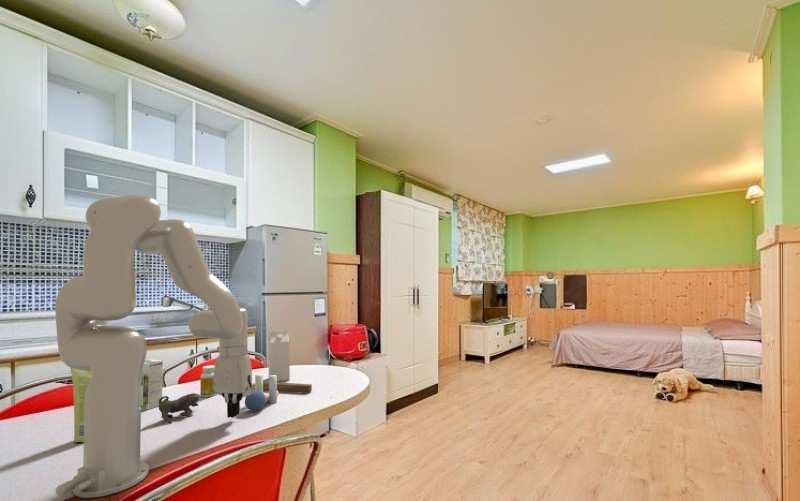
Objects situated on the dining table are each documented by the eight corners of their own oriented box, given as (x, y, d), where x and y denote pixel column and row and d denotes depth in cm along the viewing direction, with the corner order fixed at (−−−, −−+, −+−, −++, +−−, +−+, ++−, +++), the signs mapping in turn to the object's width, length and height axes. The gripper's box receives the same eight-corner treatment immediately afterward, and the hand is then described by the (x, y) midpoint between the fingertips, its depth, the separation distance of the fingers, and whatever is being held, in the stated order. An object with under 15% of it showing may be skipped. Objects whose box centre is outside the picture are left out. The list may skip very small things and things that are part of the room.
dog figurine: (163, 426, 109) (163, 399, 109) (154, 421, 112) (154, 395, 113) (206, 412, 119) (206, 388, 119) (197, 408, 122) (196, 384, 122)
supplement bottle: (210, 397, 132) (210, 368, 133) (196, 397, 133) (196, 368, 134) (220, 392, 138) (221, 365, 138) (207, 392, 139) (207, 364, 139)
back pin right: (274, 403, 125) (274, 377, 126) (267, 403, 126) (267, 376, 126) (278, 401, 128) (278, 375, 128) (271, 400, 128) (271, 374, 129)
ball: (272, 395, 123) (263, 414, 120) (256, 390, 125) (247, 409, 122) (262, 390, 118) (253, 411, 115) (246, 385, 120) (237, 405, 117)
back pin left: (260, 402, 126) (260, 376, 127) (253, 402, 127) (253, 376, 127) (264, 400, 129) (264, 374, 129) (258, 399, 129) (258, 374, 130)
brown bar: (309, 393, 135) (309, 386, 135) (258, 390, 140) (258, 383, 140) (311, 391, 137) (311, 384, 137) (261, 388, 142) (261, 381, 142)
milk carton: (268, 378, 155) (268, 330, 156) (286, 375, 158) (286, 328, 159) (270, 382, 149) (270, 332, 150) (289, 380, 152) (289, 331, 153)
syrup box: (133, 408, 123) (133, 362, 124) (151, 402, 128) (152, 358, 129) (144, 411, 121) (145, 363, 121) (163, 405, 126) (163, 359, 127)
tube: (84, 434, 104) (86, 360, 105) (105, 433, 104) (106, 360, 105) (68, 444, 98) (70, 366, 99) (90, 443, 99) (91, 365, 100)
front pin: (264, 398, 124) (278, 390, 132) (258, 397, 125) (272, 389, 133) (263, 405, 124) (278, 397, 132) (257, 404, 125) (271, 396, 133)
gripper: (202, 353, 110) (201, 418, 110) (248, 355, 107) (248, 423, 106) (220, 347, 118) (219, 409, 117) (264, 349, 114) (264, 413, 113)
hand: (233, 415), depth 112 cm, fingers closed
